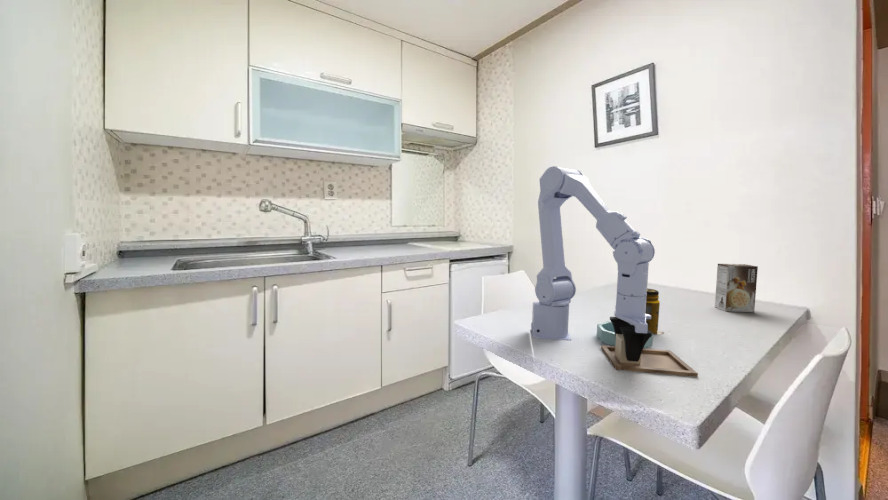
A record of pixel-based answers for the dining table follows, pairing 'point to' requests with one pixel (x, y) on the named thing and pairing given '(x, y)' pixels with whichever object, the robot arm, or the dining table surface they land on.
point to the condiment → (653, 310)
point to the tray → (652, 362)
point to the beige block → (622, 350)
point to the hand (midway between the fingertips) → (627, 354)
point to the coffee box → (736, 287)
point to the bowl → (612, 334)
